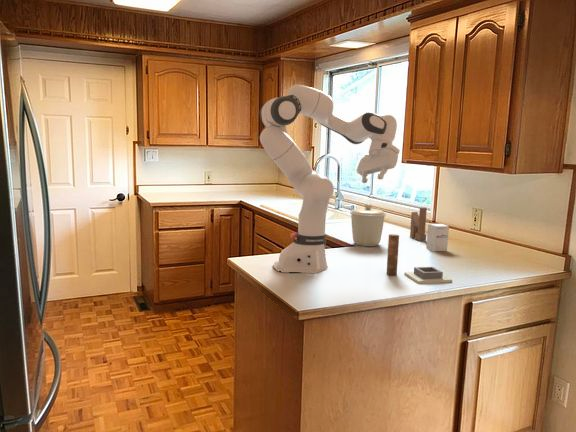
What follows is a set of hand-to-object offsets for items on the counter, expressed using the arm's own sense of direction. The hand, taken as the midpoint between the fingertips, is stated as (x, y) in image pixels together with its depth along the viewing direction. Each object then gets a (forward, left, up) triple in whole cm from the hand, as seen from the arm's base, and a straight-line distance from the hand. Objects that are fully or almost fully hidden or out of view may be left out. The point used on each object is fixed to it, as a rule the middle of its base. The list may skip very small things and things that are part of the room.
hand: (371, 180), depth 198 cm
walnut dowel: (+6, -11, -37) cm, 39 cm away
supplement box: (+46, +28, -37) cm, 65 cm away
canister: (+15, +43, -37) cm, 58 cm away
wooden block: (+48, +53, -37) cm, 80 cm away
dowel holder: (+18, -18, -37) cm, 45 cm away
